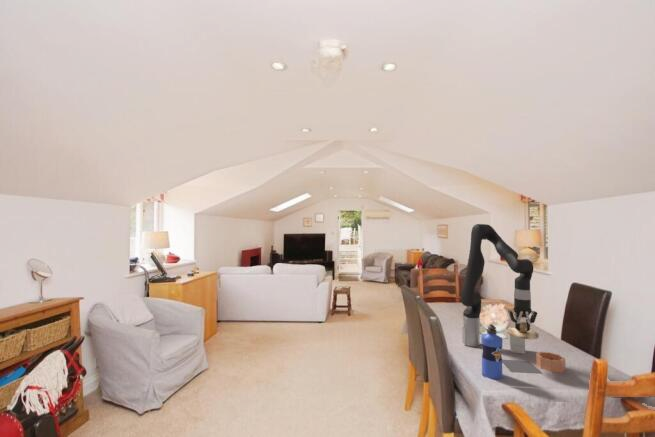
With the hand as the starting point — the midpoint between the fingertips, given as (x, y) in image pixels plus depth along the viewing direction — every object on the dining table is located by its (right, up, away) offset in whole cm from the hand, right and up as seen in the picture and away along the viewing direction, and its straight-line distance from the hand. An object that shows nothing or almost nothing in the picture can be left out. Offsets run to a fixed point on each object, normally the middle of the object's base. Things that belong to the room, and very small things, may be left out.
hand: (522, 330), depth 172 cm
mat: (-1, -19, 0) cm, 19 cm away
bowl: (+14, -19, -1) cm, 24 cm away
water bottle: (-21, -20, -9) cm, 30 cm away
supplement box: (+9, -20, +21) cm, 30 cm away
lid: (0, -2, 0) cm, 2 cm away
